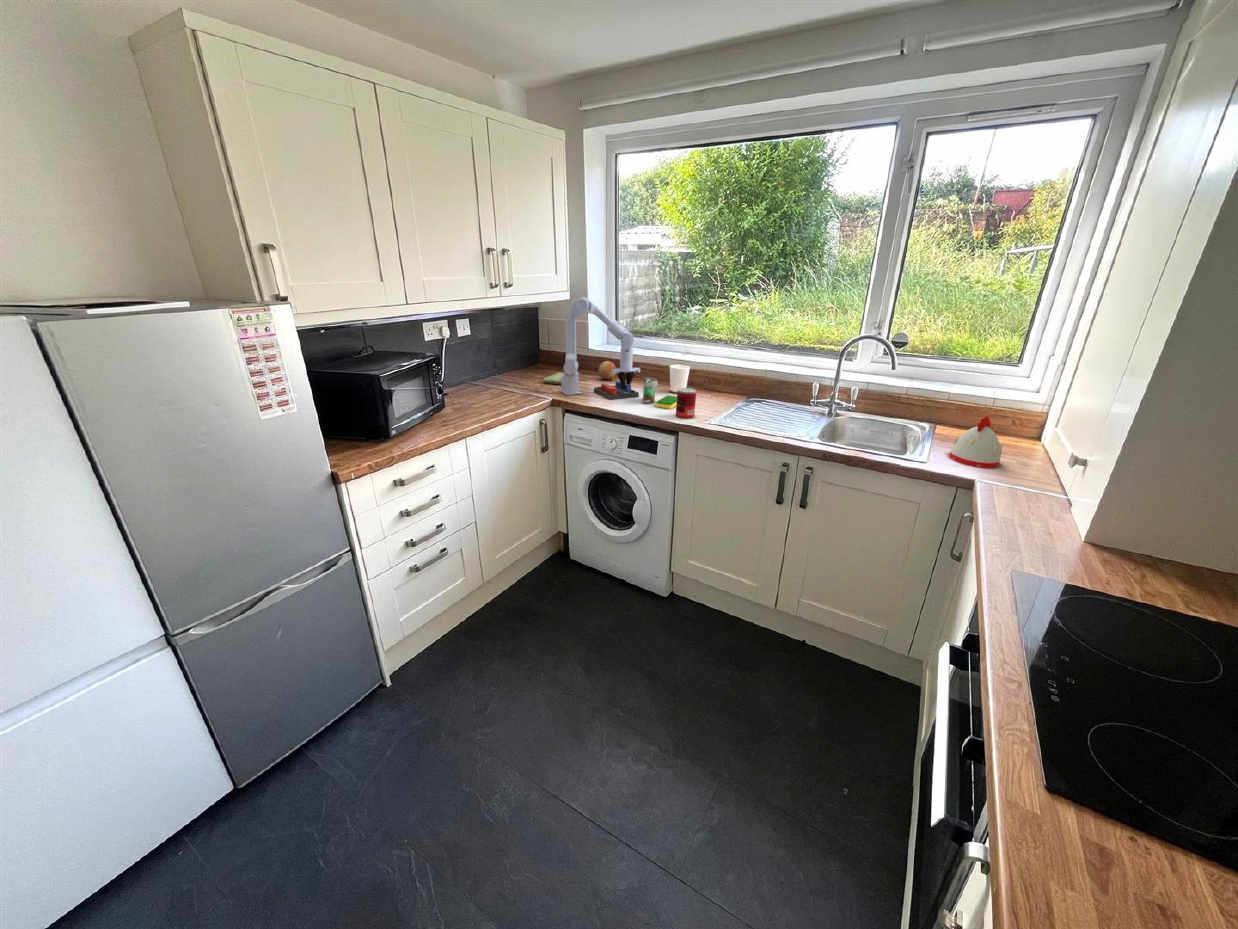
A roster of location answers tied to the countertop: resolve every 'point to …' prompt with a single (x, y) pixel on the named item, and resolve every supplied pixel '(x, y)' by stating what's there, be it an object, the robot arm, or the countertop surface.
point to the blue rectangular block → (618, 386)
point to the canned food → (685, 402)
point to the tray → (619, 394)
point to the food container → (649, 390)
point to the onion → (606, 370)
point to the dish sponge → (667, 402)
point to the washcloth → (554, 379)
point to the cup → (678, 377)
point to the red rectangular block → (609, 389)
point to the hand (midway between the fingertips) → (625, 388)
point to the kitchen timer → (977, 447)
